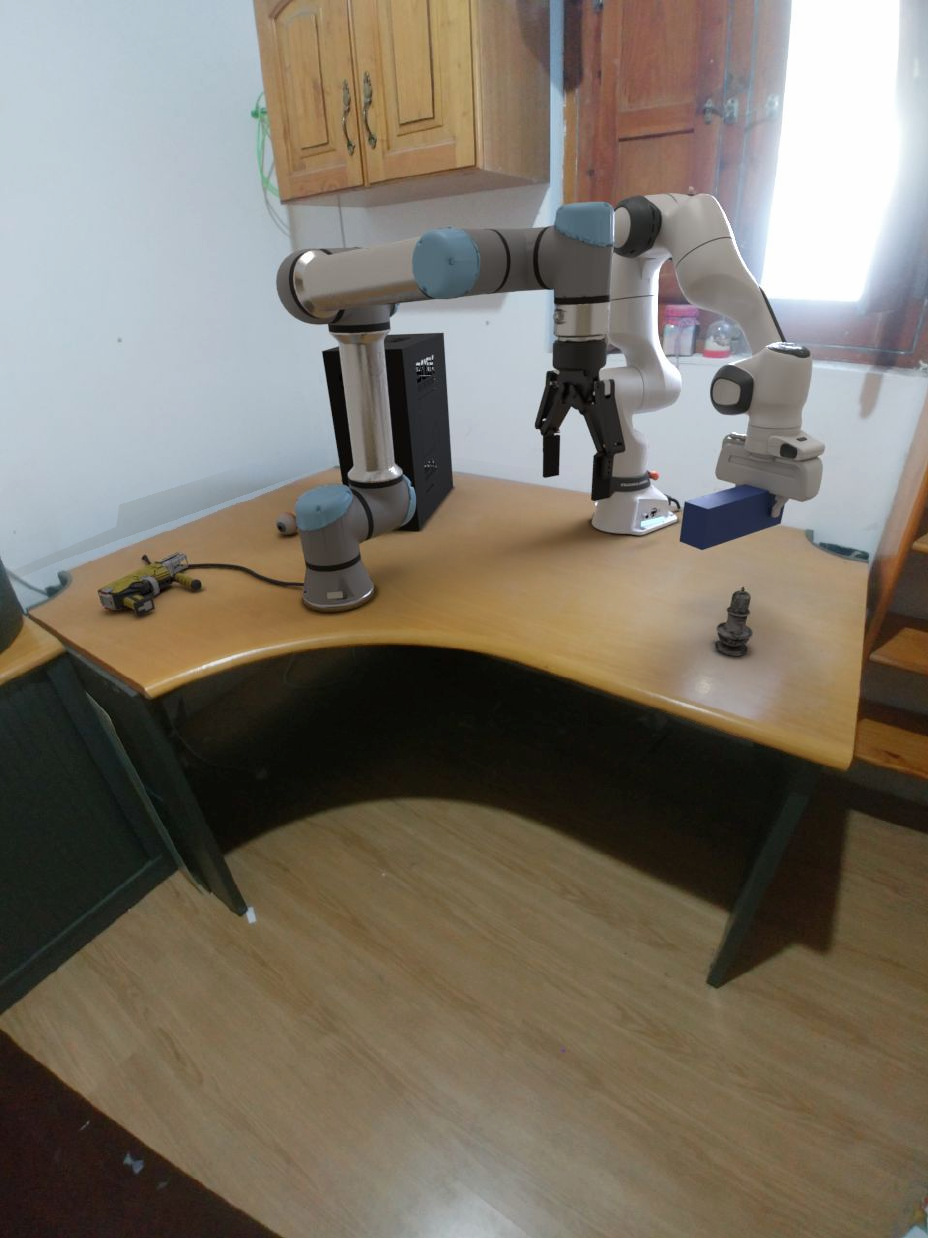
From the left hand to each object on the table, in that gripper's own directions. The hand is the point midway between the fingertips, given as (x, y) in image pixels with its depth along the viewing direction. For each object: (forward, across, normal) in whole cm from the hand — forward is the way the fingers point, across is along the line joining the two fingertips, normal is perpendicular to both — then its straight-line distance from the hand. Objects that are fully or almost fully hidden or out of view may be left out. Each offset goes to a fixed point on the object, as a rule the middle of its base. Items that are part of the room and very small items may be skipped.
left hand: (574, 487), depth 94 cm
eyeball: (+30, -85, -34) cm, 96 cm away
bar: (+16, -2, +38) cm, 41 cm away
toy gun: (+30, -64, -66) cm, 97 cm away
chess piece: (+30, +14, +25) cm, 41 cm away
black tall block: (+30, -89, +1) cm, 94 cm away
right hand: (+14, -2, +45) cm, 47 cm away
